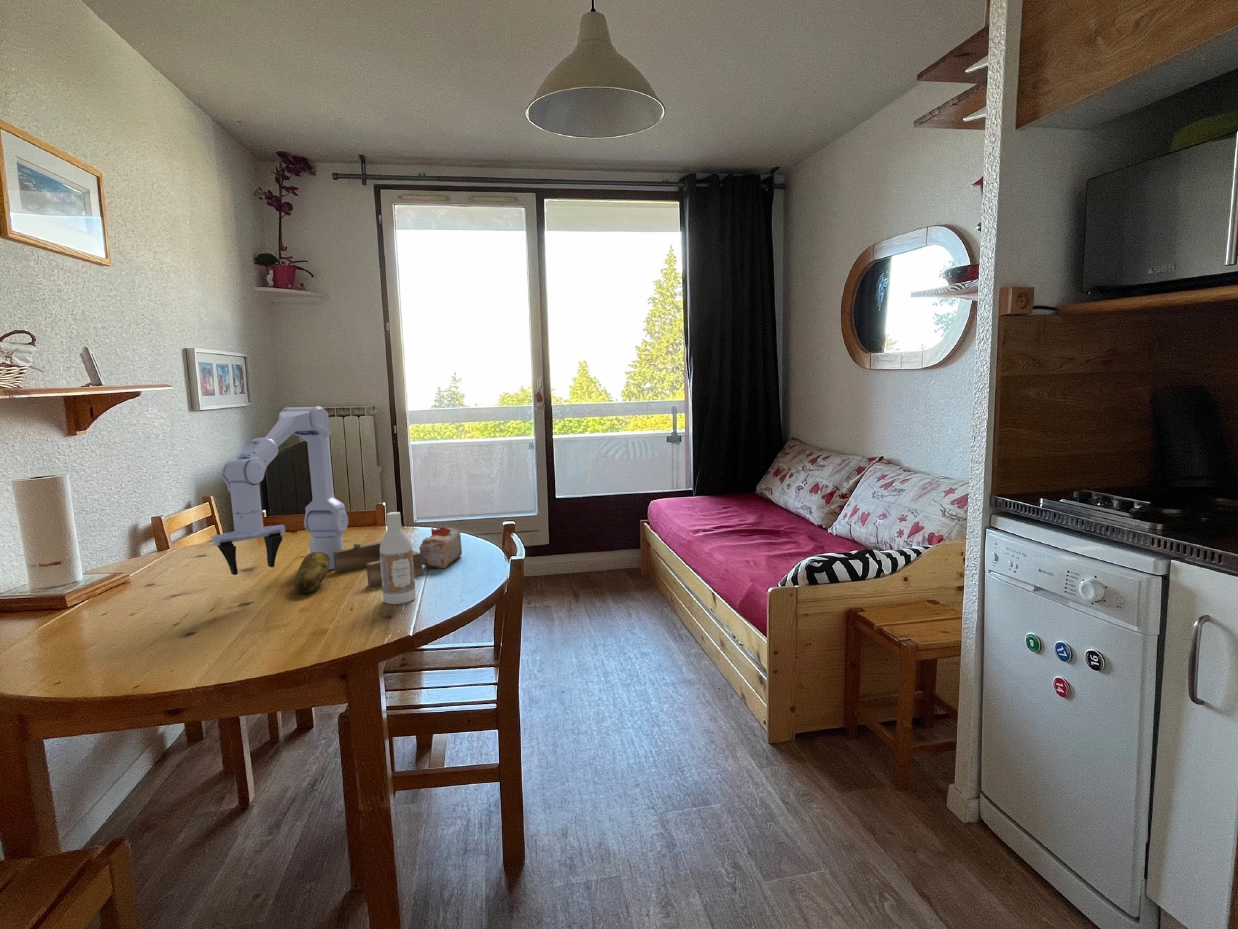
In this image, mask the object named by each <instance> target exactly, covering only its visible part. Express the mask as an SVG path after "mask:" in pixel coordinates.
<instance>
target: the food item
mask: <svg viewBox="0 0 1238 929" xmlns="http://www.w3.org/2000/svg"><path fill="white" fill-rule="evenodd" d="M430 530H431V531H430V532H431V535H430V536H429V537H425V538H424V539H423V540H422V541H421V543H420V545H419V547H418V549H419V553H421V559H422V566H424V567H425V568H430V569H446V568H448V566H449V565H450V564H452V562H455V561H456V560H457V559H458V558H460V557H461V556H462V553H463V550H462V541H461V540H462V538H461V537H462V536H461V531H460V530H458V529H456V528H451V527H448V528H446V527H444V526H442V527H441V528H436V529H434V527H433V528H432V527H431V528H430Z"/></svg>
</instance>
